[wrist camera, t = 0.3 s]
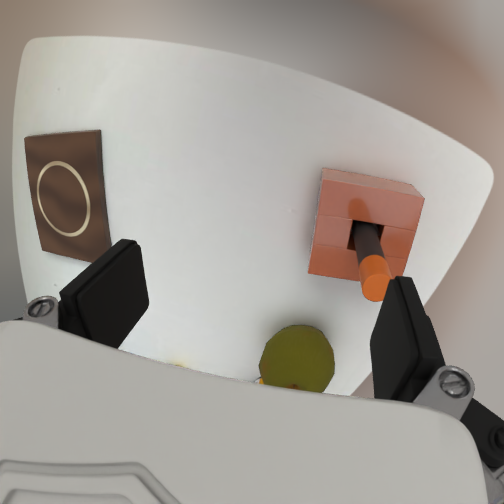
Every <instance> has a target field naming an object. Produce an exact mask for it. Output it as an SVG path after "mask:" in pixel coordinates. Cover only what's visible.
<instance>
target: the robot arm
mask: <svg viewBox="0 0 504 504" xmlns="http://www.w3.org/2000/svg"><path fill="white" fill-rule="evenodd" d="M59 294H60V297H61V300H60V301H59V302H58V300H57V299H56V298H55V297H52V296H42V297H39V298H36V299H34V300H32V301H31V302H30V303H29V304H28V305H27V306H26V307H25V310H24V315H23V317H22V318H18V319H15V320H11V321H6V322H2V323H0V504H504V421H503V420H502V419H501V418H499V417H498V416H497V415H495V414H494V413H493V412H491V411H490V410H489V409H487V408H486V407H485V406H483V405H482V404H481V403H479V402H478V401H476V400H475V399H474V398H472V397H473V394H474V391H475V387H474V382H473V380H472V378H471V377H470V375H469V374H468V373H467V372H465V371H464V370H463V369H461V368H459V367H455V366H446V365H445V362H444V358H443V355H442V352H441V349H440V346H439V343H438V340H437V337H436V334H435V331H434V328H433V326H432V323H431V320H430V318H429V316H427V315H426V313H425V311H424V308H423V305H422V303H421V300H420V297H419V295H418V292H417V290H416V287H415V285H414V282H413V280H412V278H411V277H404V276H396V277H395V278H394V279H390V280H389V283H388V286H387V290H386V293H385V296H384V299H383V302H382V306H381V309H380V312H379V315H378V318H377V321H376V324H375V327H374V329H373V332H372V335H371V339H370V351H371V361H372V372H373V382H374V398H375V399H373V398H364V397H355V396H343V395H334V394H326V393H318V392H310V391H302V390H295V389H288V388H282V387H276V386H270V385H264V384H258V383H253V382H247V381H242V380H237V379H232V378H227V377H222V376H218V375H213V374H209V373H204V372H200V371H196V370H191V369H187V368H183V367H179V366H175V365H171V364H168V363H164V362H160V361H157V360H153V359H149V358H146V357H142V356H139V355H135V354H132V353H129V352H125V351H122V350H119V349H118V348H119V346H120V345H121V344H122V342H123V341H124V340H125V338H126V337H127V335H128V334H129V333H130V331H131V330H132V329H133V327H134V326H135V325H136V323H137V322H138V321H139V319H140V318H141V317H142V315H143V314H144V313H145V312H146V310H147V309H148V306H149V298H148V292H147V286H146V280H145V274H144V267H143V260H142V253H141V247H140V245H138V244H137V242H136V241H135V240H128V239H121V240H120V241H118V242H117V243H116V244H115V245H113V246H112V247H111V248H110V249H109V250H107V251H106V252H105V253H104V254H102V255H101V256H100V257H99V258H98V259H97V260H95V261H94V262H93V263H92V264H91V265H89V266H88V267H87V268H86V269H85V270H84V271H83V272H81V273H80V274H79V275H78V276H77V277H76V278H75V279H73V280H72V281H71V282H70V283H69V284H68V285H67V286H66V287H64V288H63V289H62V290H61V291H60V292H59Z"/></svg>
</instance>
